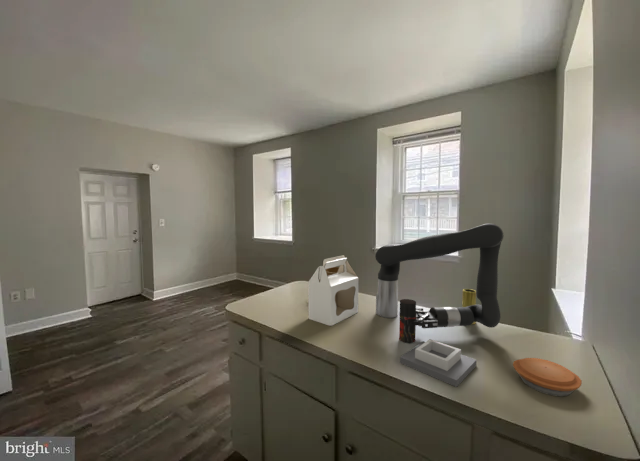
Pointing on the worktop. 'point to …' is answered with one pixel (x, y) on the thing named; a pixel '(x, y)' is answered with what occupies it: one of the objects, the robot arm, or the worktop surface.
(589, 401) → the worktop surface
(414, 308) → the deodorant
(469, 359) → the grey white socket base
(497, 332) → the worktop surface
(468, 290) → the vase
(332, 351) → the worktop surface
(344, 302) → the gable box
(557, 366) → the pie
